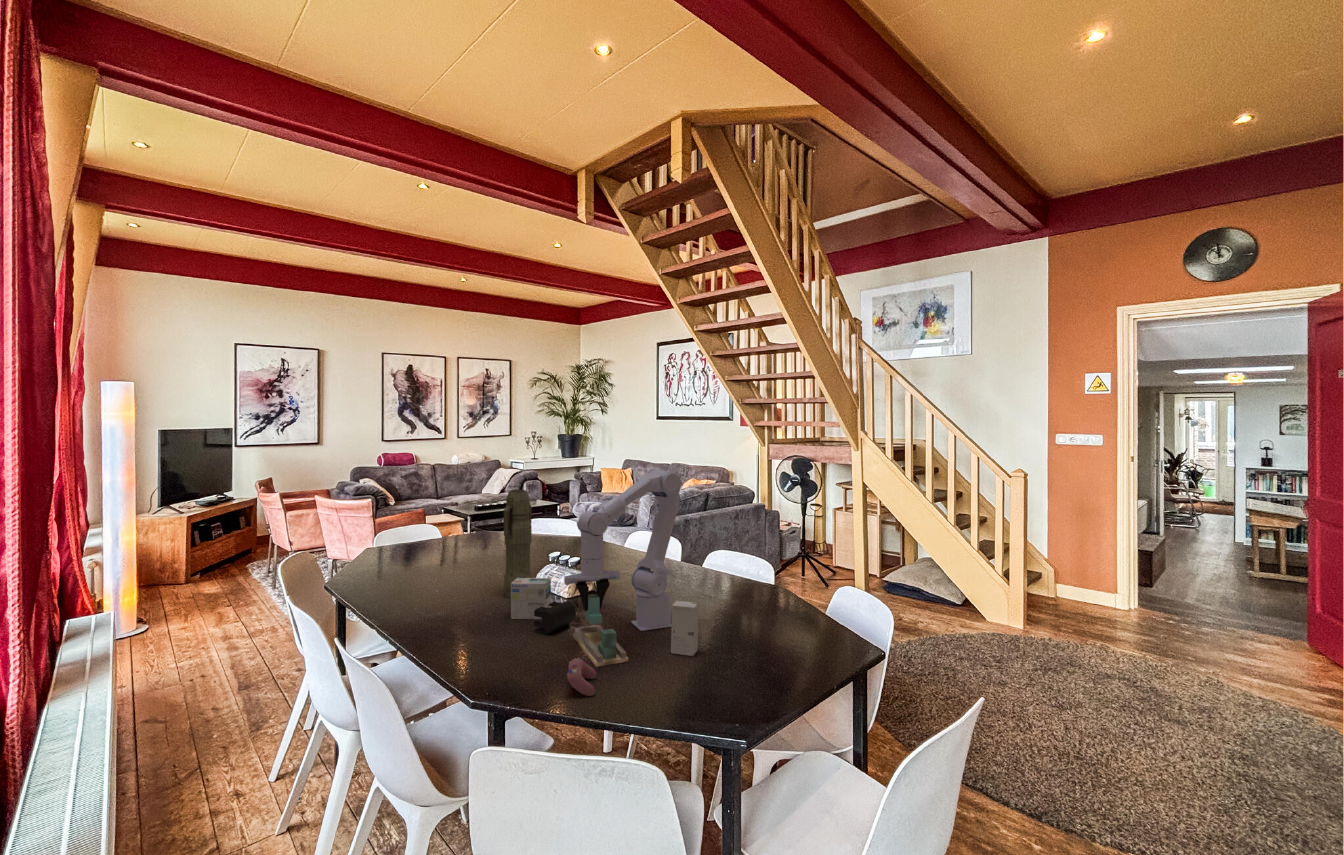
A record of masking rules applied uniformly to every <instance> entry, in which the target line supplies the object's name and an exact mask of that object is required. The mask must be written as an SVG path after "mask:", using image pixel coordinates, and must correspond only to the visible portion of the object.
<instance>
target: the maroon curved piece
mask: <svg viewBox="0 0 1344 855" xmlns="http://www.w3.org/2000/svg"><path fill="white" fill-rule="evenodd" d="M566 676H567V680H568V682H569V684H570V686H571V688H573V689H575V690H576V691H577V692H578V693H580V694H582V695H583V696H587V697H593V696H594V695H595V693H596V689H595V688H594V686H593V685H592V684H591V683H590V682H588V680H586V679H589V680H594V679H596V678H597V672H596V670H595V668H593V667H592V666H590V665H589V664H587V663H586V662H585V661H584V660H583V659H581V658H580V657H577V658H574V659H572V660H570V661H569V663H568V672H566Z"/></svg>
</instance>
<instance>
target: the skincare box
mask: <svg viewBox="0 0 1344 855" xmlns="http://www.w3.org/2000/svg"><path fill="white" fill-rule="evenodd" d="M699 607H700V604H699V602H694V601H693V602H692V601H682V600H676V601H675V602H674V603H673V604H671V624H672V626H671V630H670V631H671V632H670V633H671V636H670V638H671V639H670V641H671V642H670V643H671V644H670V653H671V654H677V655H682V656H689V657H693V656H695V654H696V653H697V651H698V648H699V646H698V645H699V644H698V643H699V641H698V640H699V639H698V638H699V613H700V612H699Z"/></svg>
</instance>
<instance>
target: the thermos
mask: <svg viewBox="0 0 1344 855" xmlns="http://www.w3.org/2000/svg"><path fill="white" fill-rule="evenodd" d="M530 500H531V499H530V496H529V493H528V491H527V490H525V489H512V490H510V491H508V493H507V497H506V504H505V505H506V506H504V509H503V537H504V545H505V573H504V580H503V581H504V583H503V584H504V585H503V587H504V588H503V589H504V597H505V598H507V599H511V583H512V582H513V581H514V580H515V579H517V578H533V577H532V576H533V574H532V572H531V544H532V538H533V536H532V532H533V531H532V505H531V503H530Z"/></svg>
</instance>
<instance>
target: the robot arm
mask: <svg viewBox="0 0 1344 855" xmlns="http://www.w3.org/2000/svg"><path fill="white" fill-rule="evenodd" d="M682 484H683V482H682V480H681V478H680V476H679V475H678V473H677V472H676V471H673V470H670V471H669V470H658V469H654V468H653V469H649V470H648V471H647V472H645V473H643V474H642V475H641V476H640V478H639V479H638V480H637V481H635V482H634V483H632V484H631V486H629V487H628V488H627V489H626V490H624V491H623V492H622V493H620V494H619V495H616V494H613V495H607V496H606V497H605V500H604V501H603V502H601V503H600V504H598V505H595V506H593V507H592V509H591V510H590V511H589V510H587V511H584V512H583V513H582V514H580V517H579V519H578V521H577V522H576V527H577V529H578V530H579V533H580V537H581V538H580V540H581V542H580V543H581V544H580V545H581V546H580V547H581V548H580V553H581V554H580V555H581V557H580V558H581V559H580V560H581V561H580V563H581V564H580V566H581V567H580V568H581V572H580V573H575V574H570V575H569V574H568V575H564V577H563V579H564V580H563V583H564V585H565V586H570V585H575V587H576V589H577V591H578V594H579V595H580V596H579V597H580V600H581V602H582V609H583V610H584V612H585V611H588V595H589V590H590V589H589V588H590V587H589V586H588V583H593V582H595V587H596V588H595V590H596V594H597V595H598V596H599V597H600V609H599V610H602V606H603V602H604V599H605V598H604V597H605V596H606V594H607V592H608V589H609V587H610V581H611V580H616V581H618V580H620V579H621V578H620V574H621V573H620V571H619V570H609V571H608V570H605V571H604V534H605V533H606V531H607V530H608V526H609V525H610V524H611V523H612V522H614V521H615V520H617V519H618V518H619V517H620V516H621V515H623V514H624V513H625V512H626V510H627V507H628V505H630V504H631V503H633V502H635V501H636V500H638V499H640V498H641V497H642V496H644V495H646V494H647V493H651V494H652V495H653V497H655V498H656V500H657V502H658V504H659V506H658V509H657V513H656V516H655V520H654V524H653V527H652V531H651V534H650V537H649V538H650V539H649V542H648V545H647V550H646V552H645V557H643V558H642V559H641V560H639V561H638V562H637V566H636V568H635V570H634V571H633V572H632V574H631V577H630V578H631V579H630V583H631V585H632V587H633V588H634V589H635V591H634V592H635V593H636V595H635V597H636V601H635V603H636V605H635V607H636V609H635V610H636V611H635V612H636V613H635V614H636V615H635V616H636V620H631V624H632V625H633V626H635V627H636V628H637V629H638V630H639V631H640V632H644V631H650V630H658V629H663V628H670V627H671V628H672V603H671V602H672V601H671V597H670V595H669V593H668V592H666V590H667V586H668V573H669V570H668V568H667V566H666V565H665V562H664V561H665V559H666V555H667V551H668V548H669V544H670V540H671V537H672V533H673V530H674V525H675V522H676V518H677V514H678V510H679V506H680V502H681V501H680V500H681V499H680V498H681V497H680V492H681V487H682Z"/></svg>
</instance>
